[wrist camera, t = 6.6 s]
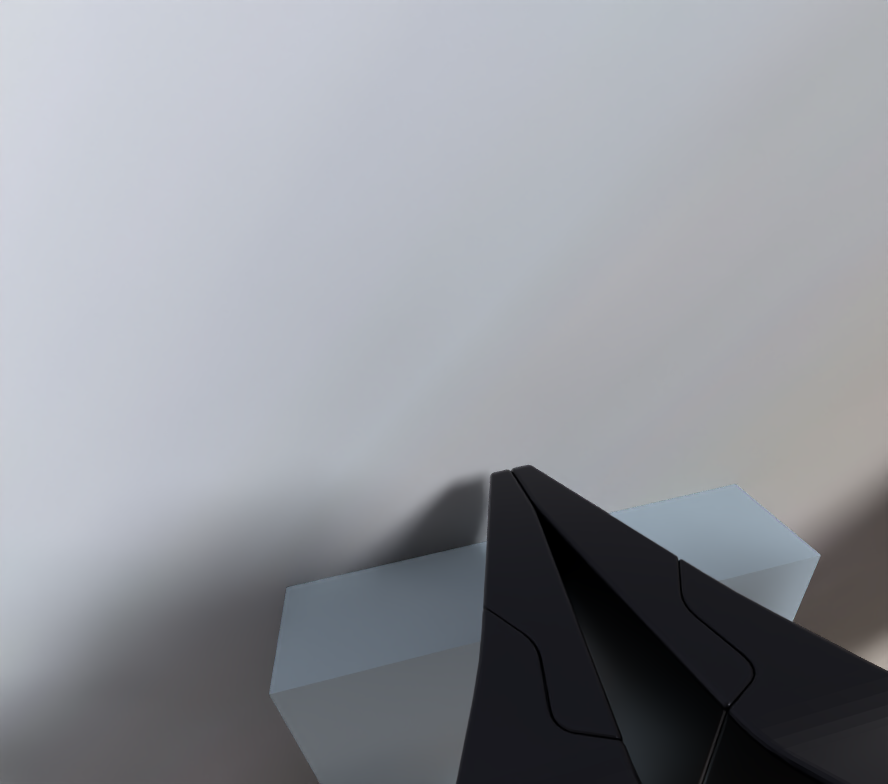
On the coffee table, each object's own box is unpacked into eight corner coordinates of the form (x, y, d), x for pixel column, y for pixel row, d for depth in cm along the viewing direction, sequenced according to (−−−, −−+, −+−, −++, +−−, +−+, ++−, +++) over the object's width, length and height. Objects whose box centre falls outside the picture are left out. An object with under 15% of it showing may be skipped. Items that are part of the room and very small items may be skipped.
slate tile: (721, 471, 12) (820, 555, 10) (651, 766, 21) (694, 853, 18) (289, 569, 11) (268, 694, 8) (404, 839, 20) (411, 943, 17)
